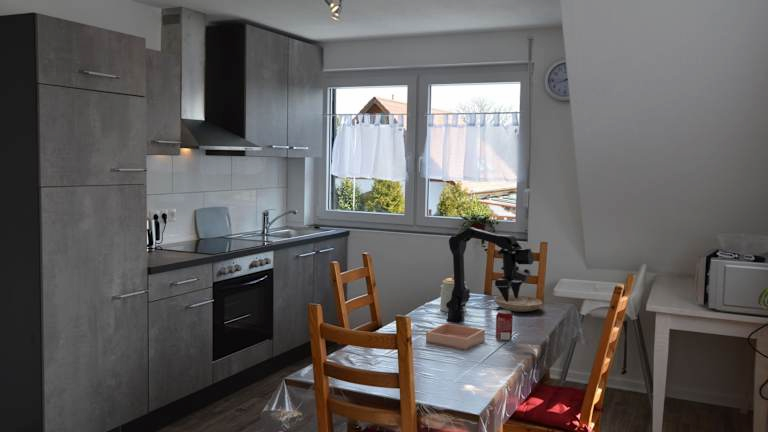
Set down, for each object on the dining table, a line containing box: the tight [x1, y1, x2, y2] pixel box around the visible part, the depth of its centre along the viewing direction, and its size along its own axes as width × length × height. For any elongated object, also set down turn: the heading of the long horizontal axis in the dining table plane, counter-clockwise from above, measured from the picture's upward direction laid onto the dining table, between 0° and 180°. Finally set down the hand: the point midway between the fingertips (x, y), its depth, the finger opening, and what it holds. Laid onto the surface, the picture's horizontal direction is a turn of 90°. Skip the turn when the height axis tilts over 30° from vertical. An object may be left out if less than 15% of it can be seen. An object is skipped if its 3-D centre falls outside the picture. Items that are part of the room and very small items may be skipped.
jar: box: [439, 274, 468, 313], centre depth 337 cm, size 13×13×18 cm
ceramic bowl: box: [494, 294, 543, 313], centre depth 343 cm, size 23×24×5 cm
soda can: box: [495, 309, 513, 342], centre depth 287 cm, size 7×7×12 cm
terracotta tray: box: [425, 322, 486, 352], centre depth 283 cm, size 18×18×4 cm
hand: (511, 299), depth 300 cm, fingers open, 9 cm apart
